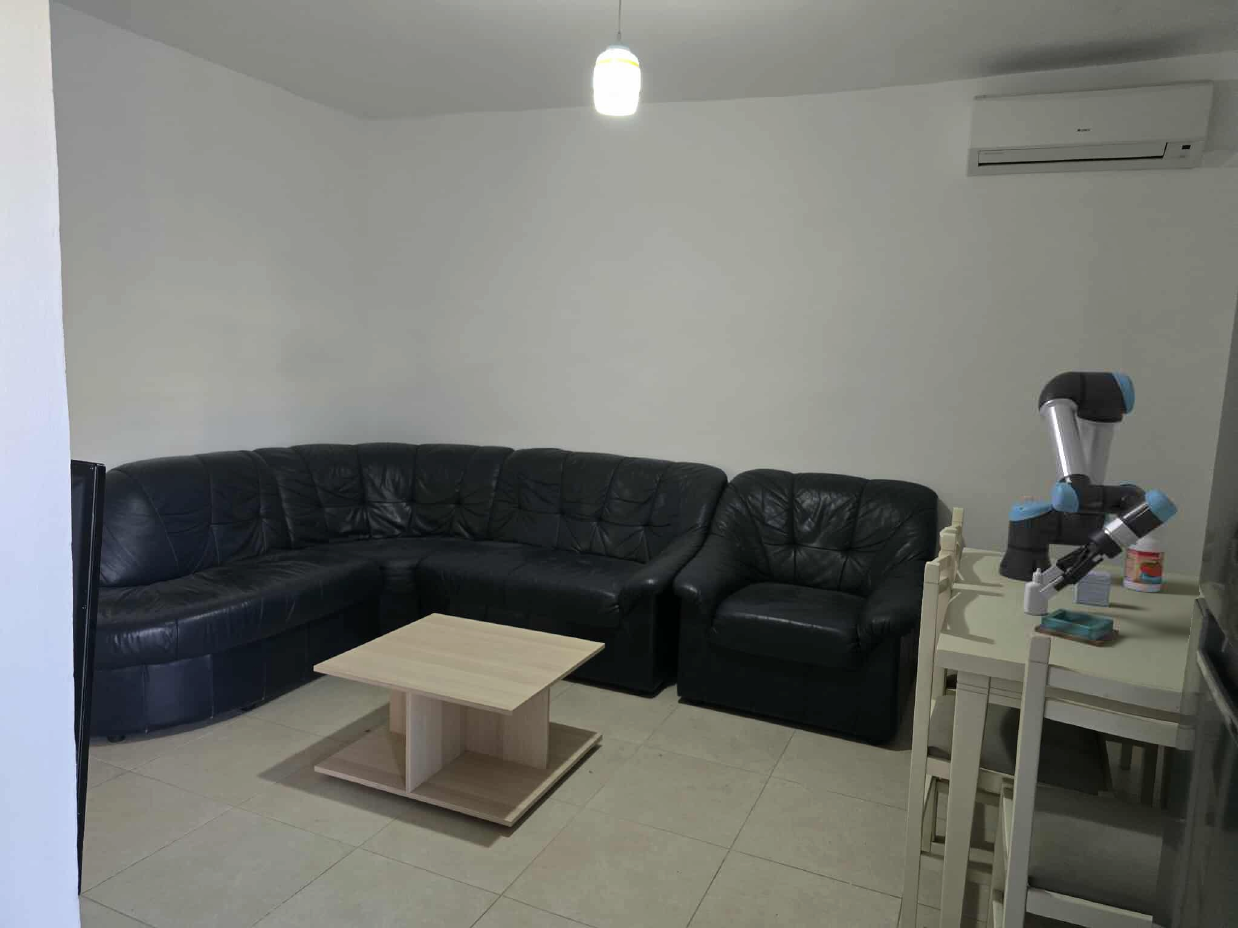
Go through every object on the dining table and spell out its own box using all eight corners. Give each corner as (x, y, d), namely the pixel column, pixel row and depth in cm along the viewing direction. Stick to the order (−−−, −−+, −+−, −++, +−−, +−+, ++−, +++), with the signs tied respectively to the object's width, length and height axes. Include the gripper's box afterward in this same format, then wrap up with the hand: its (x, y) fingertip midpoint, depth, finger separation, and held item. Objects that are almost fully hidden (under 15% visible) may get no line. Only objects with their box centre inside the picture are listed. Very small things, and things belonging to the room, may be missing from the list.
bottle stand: (1034, 630, 194) (1035, 617, 194) (1056, 620, 204) (1057, 606, 203) (1098, 646, 184) (1099, 631, 184) (1118, 634, 193) (1119, 620, 193)
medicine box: (1106, 603, 221) (1109, 572, 220) (1108, 607, 217) (1111, 576, 216) (1073, 599, 224) (1076, 569, 223) (1075, 603, 220) (1078, 572, 219)
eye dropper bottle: (1022, 609, 213) (1026, 565, 211) (1046, 612, 210) (1050, 568, 209) (1023, 613, 209) (1027, 568, 207) (1047, 616, 206) (1051, 571, 205)
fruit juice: (1136, 583, 243) (1145, 492, 240) (1167, 591, 235) (1177, 497, 232) (1115, 585, 240) (1124, 493, 237) (1146, 594, 231) (1156, 498, 228)
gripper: (1134, 560, 188) (1057, 613, 195) (1114, 540, 211) (1046, 589, 218) (1110, 535, 190) (1034, 589, 197) (1093, 519, 212) (1026, 568, 220)
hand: (1040, 589), depth 208 cm, fingers open, 13 cm apart
